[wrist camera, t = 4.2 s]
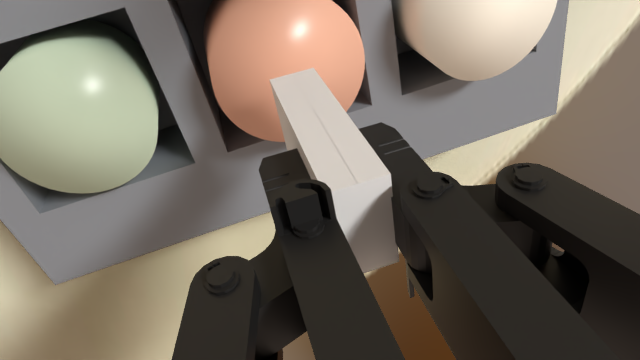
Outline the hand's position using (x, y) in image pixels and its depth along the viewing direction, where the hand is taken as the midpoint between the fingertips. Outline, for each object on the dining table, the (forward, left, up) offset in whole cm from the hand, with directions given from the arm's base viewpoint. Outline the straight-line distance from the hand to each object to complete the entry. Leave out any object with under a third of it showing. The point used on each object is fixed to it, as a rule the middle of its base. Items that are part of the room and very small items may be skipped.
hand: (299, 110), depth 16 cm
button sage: (0, -8, -8) cm, 12 cm away
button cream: (0, +9, -7) cm, 11 cm away
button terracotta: (0, 0, -7) cm, 7 cm away
